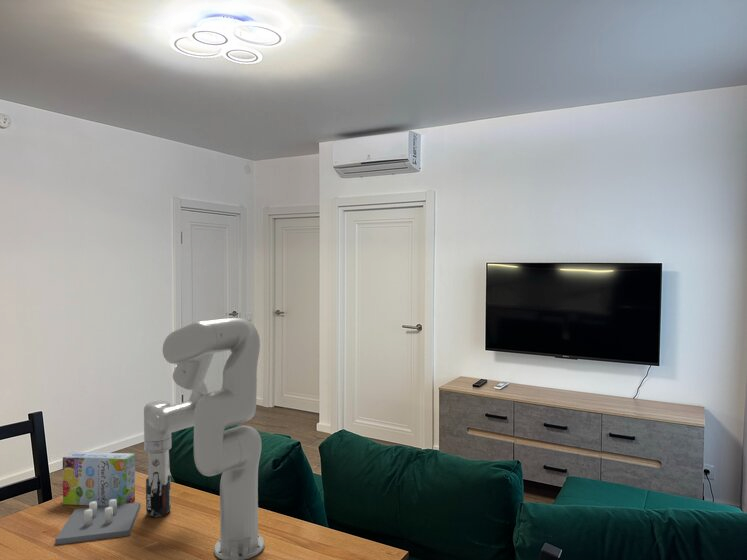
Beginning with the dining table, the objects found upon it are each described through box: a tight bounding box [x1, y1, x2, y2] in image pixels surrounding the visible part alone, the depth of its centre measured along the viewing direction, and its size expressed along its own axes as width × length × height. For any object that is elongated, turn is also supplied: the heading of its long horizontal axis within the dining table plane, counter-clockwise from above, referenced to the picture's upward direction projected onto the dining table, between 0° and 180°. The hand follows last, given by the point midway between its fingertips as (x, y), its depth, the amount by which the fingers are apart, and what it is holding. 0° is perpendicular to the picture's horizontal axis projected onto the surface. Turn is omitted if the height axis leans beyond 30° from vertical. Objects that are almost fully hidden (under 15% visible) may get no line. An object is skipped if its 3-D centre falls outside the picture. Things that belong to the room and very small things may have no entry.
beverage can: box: [145, 475, 172, 518], centre depth 156 cm, size 7×7×12 cm
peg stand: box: [54, 499, 141, 545], centre depth 149 cm, size 18×18×6 cm
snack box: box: [62, 451, 136, 507], centre depth 163 cm, size 21×6×15 cm, turn 84°
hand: (158, 502), depth 156 cm, fingers closed on beverage can, 6 cm apart
